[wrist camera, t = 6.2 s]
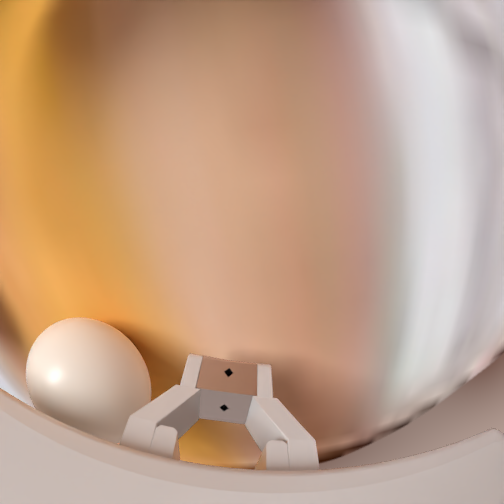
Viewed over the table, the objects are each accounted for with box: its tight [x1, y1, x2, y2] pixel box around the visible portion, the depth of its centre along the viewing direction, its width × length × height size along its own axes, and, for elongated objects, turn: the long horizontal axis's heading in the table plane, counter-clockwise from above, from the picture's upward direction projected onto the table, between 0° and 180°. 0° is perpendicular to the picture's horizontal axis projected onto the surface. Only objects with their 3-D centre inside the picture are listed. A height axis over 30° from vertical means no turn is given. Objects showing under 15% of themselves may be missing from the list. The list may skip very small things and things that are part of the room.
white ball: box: [26, 317, 151, 444], centre depth 9 cm, size 6×6×6 cm
